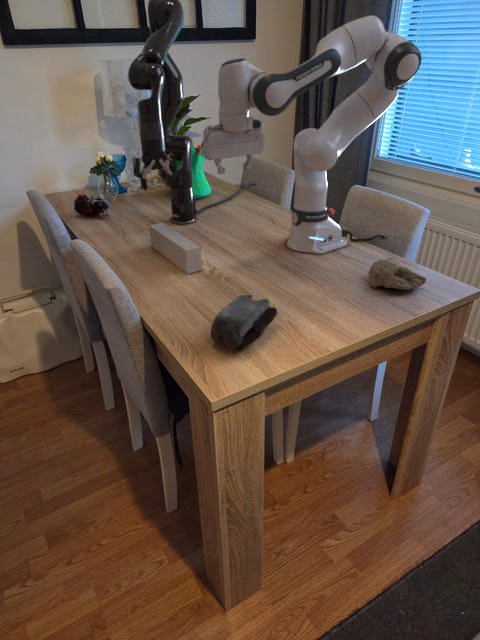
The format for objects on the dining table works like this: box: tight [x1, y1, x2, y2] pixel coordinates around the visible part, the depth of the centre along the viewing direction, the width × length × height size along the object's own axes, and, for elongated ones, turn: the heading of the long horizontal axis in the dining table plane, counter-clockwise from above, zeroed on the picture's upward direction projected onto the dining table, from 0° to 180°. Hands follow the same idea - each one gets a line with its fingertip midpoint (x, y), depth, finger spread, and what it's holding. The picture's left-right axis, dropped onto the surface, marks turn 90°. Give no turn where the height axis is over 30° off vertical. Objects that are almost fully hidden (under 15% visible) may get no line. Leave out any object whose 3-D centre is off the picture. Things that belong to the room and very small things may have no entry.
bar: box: [148, 222, 203, 275], centre depth 151 cm, size 28×5×8 cm, turn 34°
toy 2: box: [168, 137, 212, 200], centre depth 210 cm, size 20×20×25 cm
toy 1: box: [73, 194, 111, 220], centre depth 187 cm, size 12×9×15 cm
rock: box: [210, 294, 278, 352], centre depth 109 cm, size 18×11×8 cm, turn 152°
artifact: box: [368, 257, 427, 291], centre depth 135 cm, size 18×8×15 cm
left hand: (157, 187), depth 148 cm, fingers open, 8 cm apart
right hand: (234, 171), depth 137 cm, fingers open, 8 cm apart
